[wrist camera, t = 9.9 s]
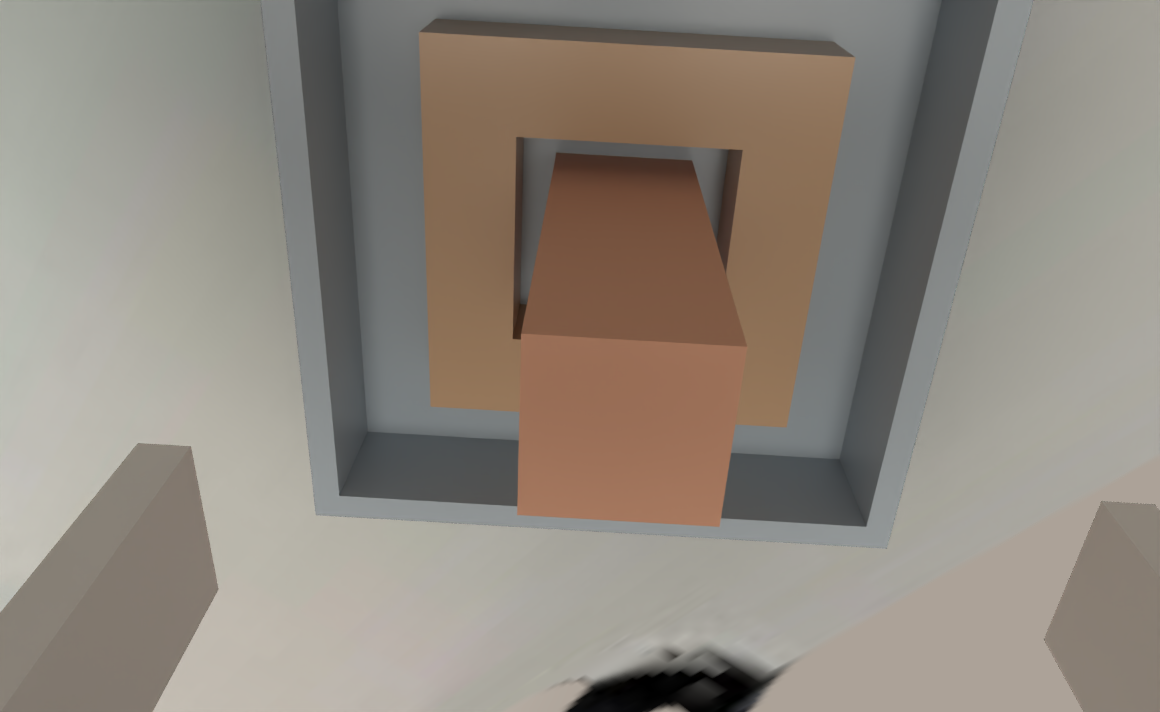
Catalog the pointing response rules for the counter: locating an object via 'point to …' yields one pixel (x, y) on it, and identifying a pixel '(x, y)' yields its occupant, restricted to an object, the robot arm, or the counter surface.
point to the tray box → (648, 130)
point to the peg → (627, 349)
